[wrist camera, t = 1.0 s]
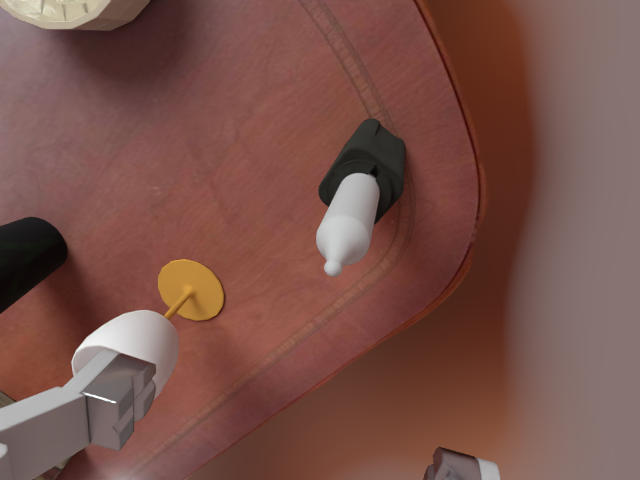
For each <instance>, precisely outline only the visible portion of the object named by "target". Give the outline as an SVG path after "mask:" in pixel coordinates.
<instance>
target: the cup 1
mask: <svg viewBox="0 0 640 480" xmlns="http://www.w3.org/2000/svg"><path fill="white" fill-rule="evenodd" d="M66 258H67V247H66V244H65V241H64V239H63V237H62V236H61V234H60V233H59V232H58V231H57V229H56V228H55V227H53V226H52V225H51V224H50V223H48V222H46V221H45V220H42V219H40V218H36V217H28V218H24V219H21V220H18V221H15V222H12V223H9V224H5V225H2V226H0V314H1V313H2V312H3V311H5V310H6V309H7V308H9V307H10V306H11V305H12V304H14V303H15V302H16V301H17V300H19V299H20V298H21V297H22V296H24V295H25V294H26V293H27V292H29V291H30V290H31V289H32V288H34V287H35V286H36V285H37V284H39V283H40V282H41V281H42V280H44V279H45V278H46V277H47V276H49V275H50V274H51V273H52V272H54V271H55V270H56V269H57V268H59V267H60V266H61V265H62V264H63V263H64V262H65V260H66Z"/></svg>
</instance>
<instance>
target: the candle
mask: <svg viewBox="0 0 640 480" xmlns="http://www.w3.org/2000/svg"><path fill="white" fill-rule="evenodd" d="M404 165H405V144H404V142H403V140H402V139H401V138H399V139H397V138H396V137H395V136H394V135H392V134H391V133H390V132H389V131H387V130H386V129H385V128H384V127H382V126H381V125H380V122H379V121H378V120H376V119H367V120H365V121H364V122H363V123H362V124H361V125H360V126H359V128H358V129H357V130H356V132H355V133H354V134H353V136H352V137H351V138H350V139H349V141H348V142H347V143H346V145H345V146H344V148H343V149H342V151H341V152H340V154H339V155H338V157H337V159H336V160H335V162H334V163H333V165H332V166H331V168H330V170H329V171H328V173H327V174H326V176H325V177H324V179H323V180H322V182H321V184H320V186H319V189H318V190H319V197H320V199H321V200H322V202H323V203H324V204H326V205H327V206H328V207H329V208H328V210H327V212H326V214H325V216H324V218H323V220H322V222H321V224H320V226H319V228H318V231H317V235H316V241H317V246H318V249H319V251H320V253H321V254H322V255H323V256H324V257H325V258H326V259H327V262H326V264H325V267H324V269H325V272H326V274H327V275H329V276H331V277H336V276H338V275H340V274H341V272H342V267H343V266H344V265H351V264H354V263H356V262H358V261H360V260H361V259H362V258H363V257H364V256H365V254H366V253H367V252H368V249H369V246H370V241H371V236H372V231H373V226H374V225H375V224H376V223H377V222H378V221H379V220H380V219H381V217H382V216H383V215H384V214H385V213H386V212H387V211H388V210H389V209H390V207H391V206H392V205H393V204H394V203H395V202H396V201H397V200H398V198H399V197H400V196H401V194H402V192H403V188H404Z"/></svg>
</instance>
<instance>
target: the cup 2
mask: <svg viewBox="0 0 640 480" xmlns="http://www.w3.org/2000/svg"><path fill="white" fill-rule="evenodd" d="M158 289H159V292H160V294H161V296H162V299H163V300H164V302H165V303H166V304H167V305H168V306H169V307H170V309H169V311H168V312H167V313H166V314H165V315H164V316H163V315H161V314H159V313H157V312H153V311H149V310H139V311H133V312H129V313H124V314H122V315H120V316H118V317H116V318H114V319H112V320H110V321H109V322H107V323H106V324H104V325H103V326H101V327H100V328H98V329H97V330H96V331H94V332H93V333H92V334H90V335H89V336H88V337H87V338H86V339H85V340H84V341H83V343H82V344H81V345H80V346H79V348H78V349H77V350H76V352H75V354H74V356H73V359H72V361H71V363H72V370H73V376H75V375H76V374H77V373H78V372H79V371H80V370H81V369H82V368H83V367H84V366H85V365H86V364H87V363H88V362H89V361H90V360H91V359H92V358H93V357H94V356H95V355H96V354H97V353H98V352H99V351H101V350H103V349H105V348H107V349H110V350H113V351H117V352H120V353H123V354H127V355H130V356H133V357H136V358H139V359H142V360H145V361H148V362H151V363H154V364H156V374H155V375H154V377H153V378H152V380H153V381H154V383H155V384H156V392H155V397H154V399H155V398H156V397H157V396H158V395H159V394H160V392H161V391H162V389H163V387H164V386H165V384H166V382H167V381H168V379H169V377H170V376H171V374H172V372H173V371H174V368H175V365H176V362H177V359H178V351H179V336H178V333H177V331H176V329H175V327H174V326H173V324H172V323H171V322H170V321H169V320H170V319H171V318H172V317H173V316H174V315H175V313H177V314H179V315H181V316H182V317H184V318H188V319H192V320H196V321H197V320H208V319H210V318H212V317H213V316H215V315H217V314H218V313H219V311H220V309H221V308H222V306H223V304H224V291H223V288H222V286H221V283H220V281H219V280H218V278H217V277H216V276H215V275H214V274H213V272H212V271H211V270H210V269H208V268H206V267H205V266H203V265H202V264H200V263H199V262H195V261H191V260H187V259H182V260H174V261H172V262H170V263H169V264H167V265H166V266H164V267H163V268H162V270H161V272H160V274H159V276H158Z"/></svg>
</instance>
